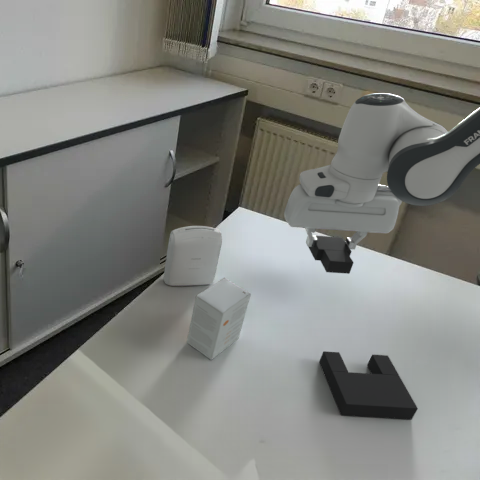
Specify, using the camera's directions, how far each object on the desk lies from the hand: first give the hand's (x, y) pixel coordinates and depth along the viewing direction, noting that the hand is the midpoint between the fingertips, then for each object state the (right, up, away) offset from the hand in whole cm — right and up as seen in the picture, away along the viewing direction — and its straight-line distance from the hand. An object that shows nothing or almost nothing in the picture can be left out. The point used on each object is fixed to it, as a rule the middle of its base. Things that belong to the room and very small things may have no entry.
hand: (329, 246), depth 105 cm
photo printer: (-27, -7, +2) cm, 28 cm away
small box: (-25, -16, -12) cm, 32 cm away
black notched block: (-2, -23, -19) cm, 29 cm away
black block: (0, -3, -1) cm, 3 cm away
